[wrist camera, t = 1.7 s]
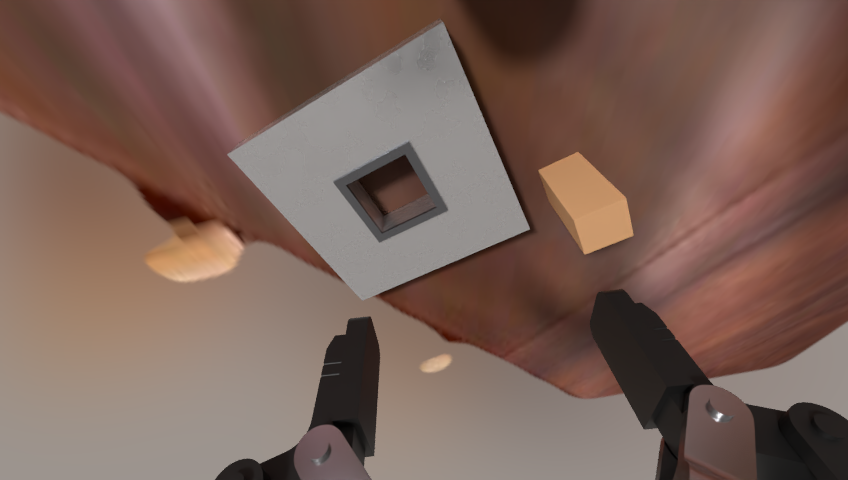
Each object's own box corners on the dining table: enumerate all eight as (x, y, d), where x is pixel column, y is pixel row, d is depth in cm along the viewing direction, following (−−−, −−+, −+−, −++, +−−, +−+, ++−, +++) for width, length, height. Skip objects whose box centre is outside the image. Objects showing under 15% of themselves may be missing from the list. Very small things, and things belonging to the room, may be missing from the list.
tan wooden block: (578, 151, 34) (626, 198, 26) (586, 184, 36) (633, 235, 28) (537, 170, 34) (573, 219, 27) (549, 201, 37) (584, 254, 29)
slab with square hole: (439, 18, 27) (443, 22, 24) (521, 213, 37) (530, 230, 35) (240, 141, 31) (225, 155, 29) (364, 282, 42) (362, 302, 40)
